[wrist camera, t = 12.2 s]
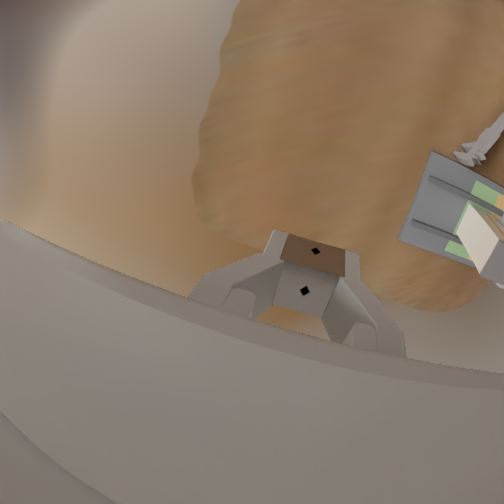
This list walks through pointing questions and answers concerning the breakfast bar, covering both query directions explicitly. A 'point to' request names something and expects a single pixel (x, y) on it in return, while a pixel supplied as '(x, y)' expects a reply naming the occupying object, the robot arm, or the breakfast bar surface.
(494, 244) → the cream rectangular box
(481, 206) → the grey holder
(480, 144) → the caliper
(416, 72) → the breakfast bar surface
